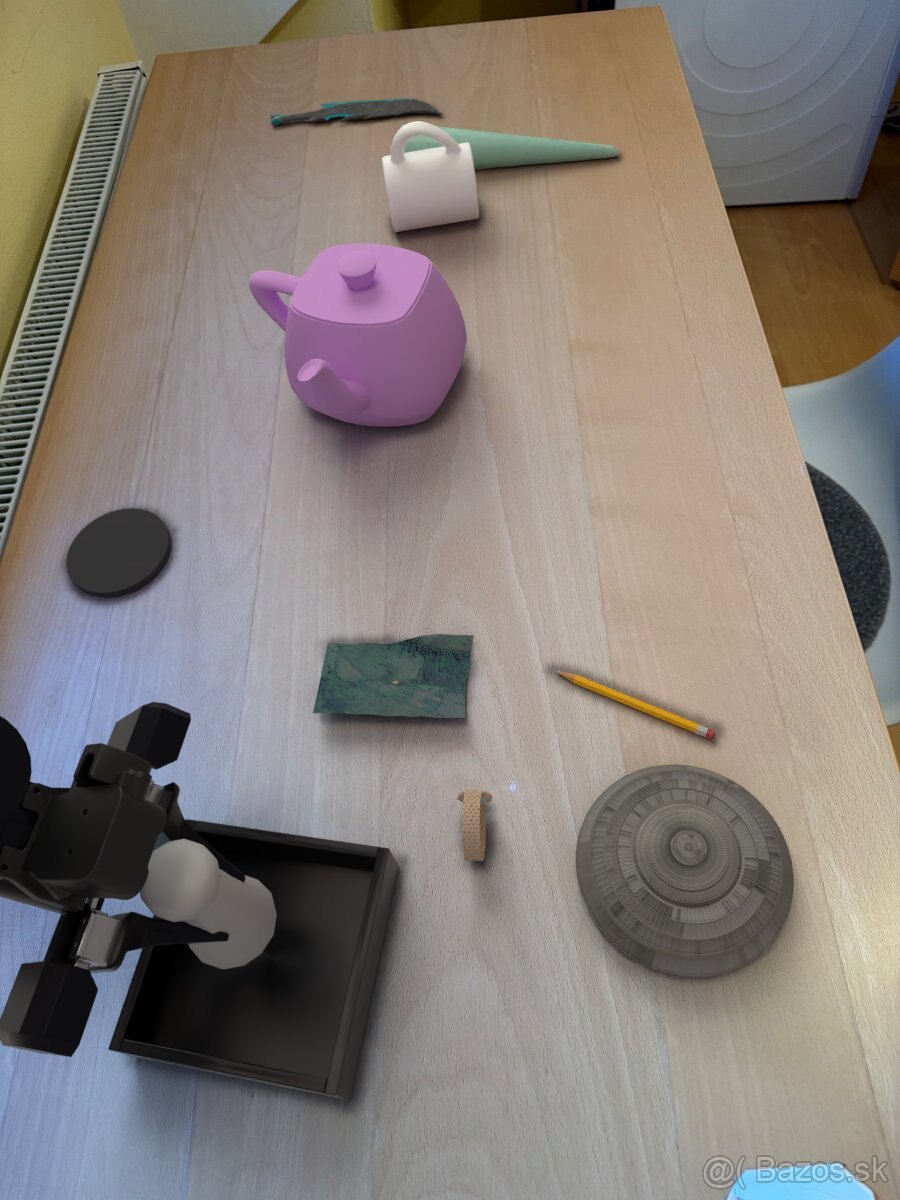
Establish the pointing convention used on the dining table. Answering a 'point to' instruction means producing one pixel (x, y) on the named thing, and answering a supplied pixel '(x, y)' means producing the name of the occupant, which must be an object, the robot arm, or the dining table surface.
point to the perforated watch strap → (474, 823)
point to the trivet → (118, 552)
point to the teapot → (367, 333)
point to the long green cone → (514, 148)
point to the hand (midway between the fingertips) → (234, 909)
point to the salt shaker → (210, 902)
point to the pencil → (639, 705)
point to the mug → (429, 180)
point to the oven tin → (273, 971)
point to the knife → (361, 110)
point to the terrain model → (397, 677)
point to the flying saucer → (684, 870)
